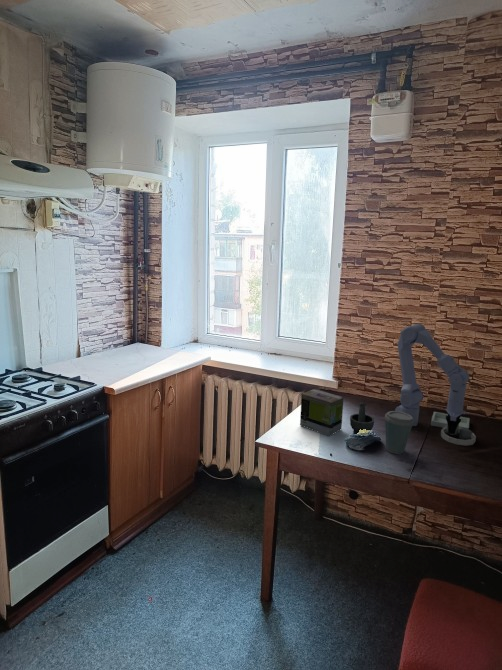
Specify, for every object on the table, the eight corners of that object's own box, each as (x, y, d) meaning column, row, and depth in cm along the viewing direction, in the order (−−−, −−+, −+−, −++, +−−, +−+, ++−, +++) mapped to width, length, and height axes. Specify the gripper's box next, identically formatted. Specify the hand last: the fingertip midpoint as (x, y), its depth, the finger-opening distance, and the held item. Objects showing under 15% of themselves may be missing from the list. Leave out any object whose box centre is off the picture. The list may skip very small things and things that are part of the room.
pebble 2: (464, 443, 176) (465, 433, 175) (456, 438, 180) (457, 429, 179) (473, 441, 177) (474, 432, 176) (465, 437, 181) (466, 427, 181)
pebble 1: (450, 435, 178) (452, 426, 177) (443, 430, 182) (444, 421, 181) (460, 434, 179) (461, 425, 178) (452, 429, 183) (453, 420, 182)
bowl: (456, 449, 172) (457, 442, 172) (434, 435, 184) (435, 428, 183) (481, 445, 176) (482, 438, 176) (458, 432, 188) (459, 425, 187)
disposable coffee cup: (386, 441, 177) (390, 406, 174) (414, 449, 171) (418, 413, 168) (377, 451, 169) (380, 414, 165) (405, 460, 163) (410, 422, 159)
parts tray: (430, 427, 192) (431, 420, 191) (433, 417, 202) (433, 411, 201) (467, 434, 185) (468, 428, 185) (468, 424, 195) (469, 418, 195)
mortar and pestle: (373, 440, 178) (375, 412, 175) (349, 437, 180) (351, 410, 177) (371, 428, 189) (374, 402, 186) (349, 426, 191) (351, 399, 188)
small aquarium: (342, 429, 187) (344, 396, 184) (329, 437, 180) (331, 402, 177) (312, 419, 197) (314, 387, 194) (299, 426, 190) (300, 393, 186)
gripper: (466, 407, 169) (461, 440, 172) (467, 395, 182) (463, 426, 185) (446, 404, 172) (442, 436, 175) (449, 392, 185) (445, 423, 188)
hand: (451, 431), depth 180 cm, fingers closed on pebble 1, 4 cm apart
